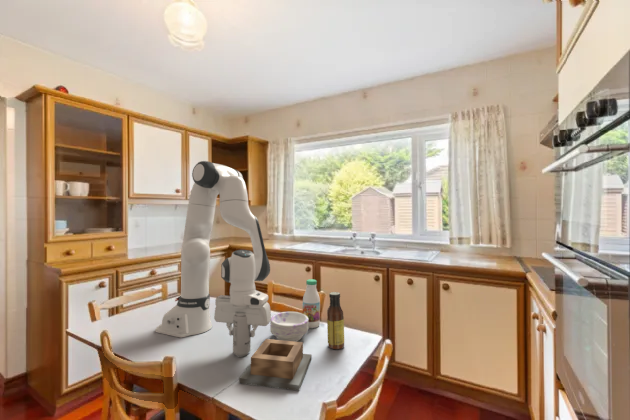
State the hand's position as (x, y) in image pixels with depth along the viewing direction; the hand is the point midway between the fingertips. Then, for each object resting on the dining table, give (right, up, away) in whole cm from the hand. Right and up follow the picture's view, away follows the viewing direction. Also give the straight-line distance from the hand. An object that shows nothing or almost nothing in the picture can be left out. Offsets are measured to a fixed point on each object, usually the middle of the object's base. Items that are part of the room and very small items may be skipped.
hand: (242, 335), depth 102 cm
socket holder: (+14, -6, -11) cm, 19 cm away
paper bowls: (+16, -7, +13) cm, 22 cm away
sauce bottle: (+34, -7, +6) cm, 35 cm away
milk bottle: (+24, -7, +26) cm, 36 cm away
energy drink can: (0, -6, 0) cm, 6 cm away
